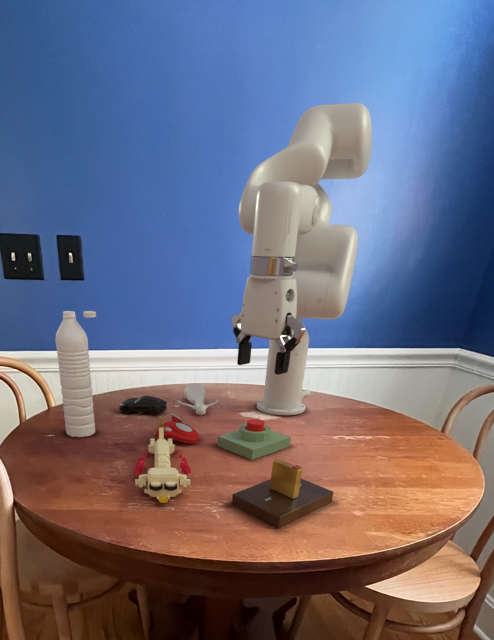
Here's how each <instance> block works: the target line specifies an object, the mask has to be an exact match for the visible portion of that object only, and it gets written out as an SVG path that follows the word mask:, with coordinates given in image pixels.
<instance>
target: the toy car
mask: <svg viewBox="0 0 494 640" xmlns="http://www.w3.org/2000/svg"><path fill="white" fill-rule="evenodd" d="M167 404H168V401H167V400H165V399H162V398H159V397H157V396H153V395H143V396H141V397H129V398H127V399H125V400H123V401H122V402H120V404H119V408H118V409H119V411H121V412H122V413H124V414H130V413H137V414H139V415H143V414H145V413H148V414H151V415H152V416H156V415H158V414H159V413H163V412H165V411H166V410H167V409H168V406H167Z"/></svg>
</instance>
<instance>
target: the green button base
mask: <svg viewBox="0 0 494 640" xmlns="http://www.w3.org/2000/svg"><path fill="white" fill-rule="evenodd" d="M291 439H292V437H291V436H289V435H286V434H284V433H281V432H278V431H275V430H272V428H271V427H270V426H268V425H267V424H264V431H261V432H254V431H249V430H247V423H243V424H241V425H240V426H239V428H238V429H237V430H233V431H230V432H227V433H223V434H220V435H217V442H216V443H217V444H216V446H217V447H219V448H221V449H224V450H226V451H229V452H230V453H231V452H232V453H234V454H236V455H238V456H241V457H243V458H247V459H248V460H251V461H253V460H256V459H258V458H261V457H264V456H267V455H270V454H273V453H275V452H278V451H281V450H284V449H287V448H290V446H291Z"/></svg>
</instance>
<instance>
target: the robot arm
mask: <svg viewBox="0 0 494 640" xmlns="http://www.w3.org/2000/svg"><path fill="white" fill-rule="evenodd" d="M372 124H373V123H372V118H371V113H370V111H369V109H368V107H367V106H366V105H364V104H363V103H361V102H347V103H332V104H331V103H330V104H329V103H328V104H318V105H315V106H312V107H309V108H308V109H307V110H305V111H303V113H302V114H301V116H300V117H299V119H298V121H297V122H296V125H295V126H294V127H295V128H294V130H293V132H292V134H291V136H290V138H289V139H290V140H289V142H288V144H287V146H286V147H285V148H282V149H281V150H280V151H278V152H276V153H275V154H273V155H271V156H269V157H268V158H266V159H265V160H264V161H262V162H260V163H259V164H257V166H255V168H254V169H253V170H252V172H251V173H250V175H249V177H248V178H247V181H246V183H245V186H244V188H243V190H242V194H241V195H240V196H241V197H240V200H239V206H238V222H239V226H240V227H241V230H243V232H245V233H246V234H248V235H251V236H252V245H251V246H252V247H251V256H250V267H249V268H250V271H249V276H247V279H246V282H245V286H244V287H245V288H244V293H243V298H242V304H241V310H240V312H238V313H236V314H234V315H233V316H231V318H230V321H231V325H232V328H233V329H232V333H233V334H234V336H235V338H236V340H235V342H236V344H238V348H237V360H236V362H237V363H236V364H237V365H238V366H244V365H248V364H251V358H252V357H251V356H252V345H253V343H252V342H251V340H252V339H253V337H255V338H261V339H266V340H269V342H268V343H269V344H268V352H267V361H266V369H265V381H264V390H263V398H262V399H259V400H258V401H257V402H256V409H258V411H260V412H263V413H265V414H270V415H275V416H297V415H301V414H303V413H304V412H305V411H306V405H305V403H303V402H302V401H303V399H305V398H308V397H310V396H311V395H312V394H311V393H312V392H311V390H310V389H304V390H303V385H304V378H305V372H306V365H307V358H308V353H309V345H310V335H309V334H310V333H309V332H308V329H307V327H306V326H305V324H304V322H303V321H302V319H314V320H316V319H317V320H335V319H339V318H340V317H341V316H342V315H343V313H344V312H345V310H346V306H347V304H348V299H349V294H350V290H351V285H352V280H353V274H354V270H355V267H356V266H355V265H356V260H357V256H358V249H359V235H358V231H357V230H356V228H355V227H353V226H352V225H348V224H330V221H331V217H332V213H333V204H332V201H331V199H330V197H329V195H328V194H327V192H326V190H325V189H324V188H323V187H322V186H321V184H320V183H319V182H320V181H321V180H351V179H357V178H358V179H359V178H360V177H362V176H363V175H364V173H366V171H367V169H368V167H369V164H370V161H371V159H372V158H371V157H372V152H373V125H372Z"/></svg>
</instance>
